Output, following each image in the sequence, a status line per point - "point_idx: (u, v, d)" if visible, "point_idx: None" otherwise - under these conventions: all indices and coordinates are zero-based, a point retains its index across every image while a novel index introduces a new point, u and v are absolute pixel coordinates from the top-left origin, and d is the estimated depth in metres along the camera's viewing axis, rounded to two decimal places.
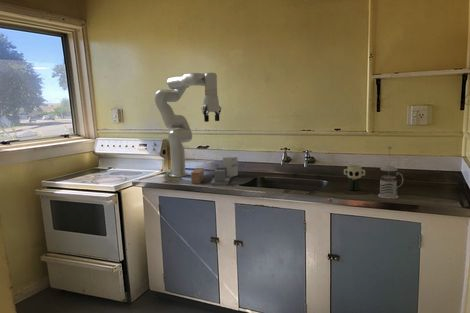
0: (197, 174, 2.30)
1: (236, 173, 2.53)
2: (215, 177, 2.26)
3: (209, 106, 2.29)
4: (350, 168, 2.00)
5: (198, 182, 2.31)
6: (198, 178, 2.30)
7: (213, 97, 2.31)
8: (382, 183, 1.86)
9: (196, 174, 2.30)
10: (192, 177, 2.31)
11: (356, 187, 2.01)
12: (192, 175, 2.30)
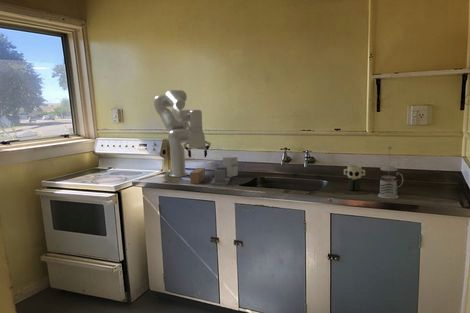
0: (196, 174, 2.30)
1: (236, 173, 2.53)
2: (215, 177, 2.26)
3: None
4: (350, 168, 2.00)
5: (197, 182, 2.31)
6: (197, 178, 2.30)
7: None
8: (382, 183, 1.86)
9: (195, 174, 2.30)
10: (191, 177, 2.31)
11: (356, 187, 2.01)
12: (191, 175, 2.31)
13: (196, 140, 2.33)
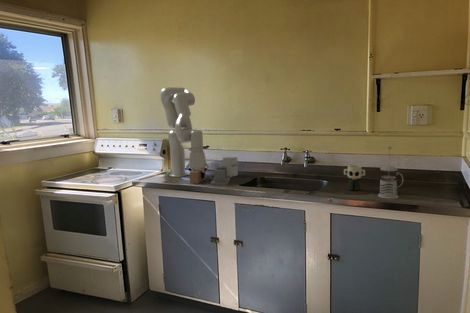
0: (195, 174, 2.30)
1: (236, 173, 2.53)
2: (215, 177, 2.26)
3: None
4: (350, 168, 2.00)
5: (196, 182, 2.31)
6: (196, 178, 2.30)
7: None
8: (382, 183, 1.86)
9: (194, 174, 2.30)
10: (190, 177, 2.31)
11: (356, 187, 2.01)
12: (190, 175, 2.31)
13: (197, 160, 2.35)
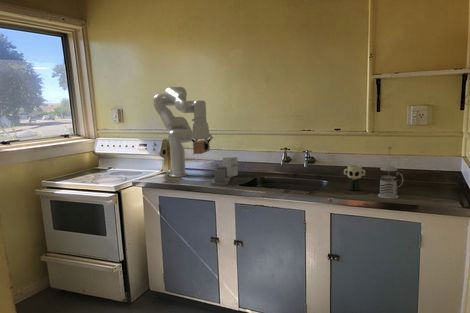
0: (199, 144, 2.27)
1: (236, 173, 2.53)
2: (215, 177, 2.26)
3: None
4: (350, 168, 2.00)
5: (200, 152, 2.27)
6: (200, 148, 2.27)
7: None
8: (382, 183, 1.86)
9: (198, 144, 2.27)
10: (194, 147, 2.28)
11: (356, 187, 2.01)
12: (194, 145, 2.27)
13: (200, 131, 2.32)
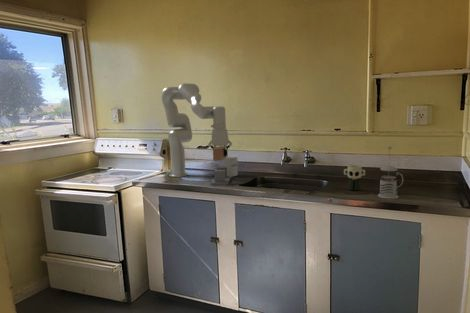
0: (219, 150, 2.24)
1: (236, 173, 2.53)
2: (215, 177, 2.26)
3: None
4: (350, 168, 2.00)
5: (220, 159, 2.25)
6: (220, 154, 2.24)
7: None
8: (382, 183, 1.86)
9: (218, 150, 2.24)
10: (214, 153, 2.25)
11: (356, 187, 2.01)
12: (214, 151, 2.25)
13: (219, 137, 2.29)
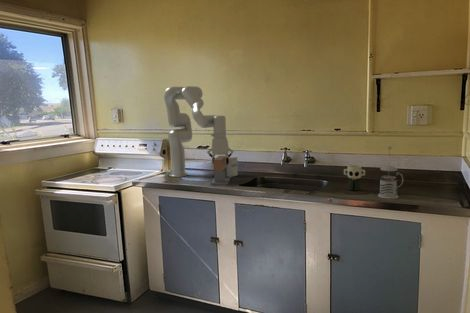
0: (219, 161, 2.25)
1: (236, 173, 2.53)
2: (215, 177, 2.26)
3: None
4: (350, 168, 2.00)
5: (220, 169, 2.26)
6: (220, 165, 2.25)
7: None
8: (382, 183, 1.86)
9: (218, 161, 2.25)
10: (214, 164, 2.26)
11: (356, 187, 2.01)
12: (214, 162, 2.26)
13: (219, 146, 2.30)
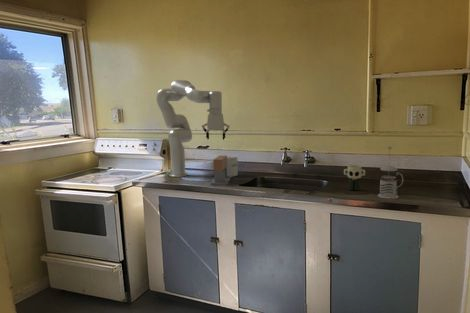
0: (219, 161, 2.25)
1: (236, 173, 2.53)
2: (215, 177, 2.26)
3: None
4: (350, 168, 2.00)
5: (220, 169, 2.26)
6: (220, 165, 2.25)
7: None
8: (382, 183, 1.86)
9: (218, 161, 2.25)
10: (214, 164, 2.26)
11: (356, 187, 2.01)
12: (214, 162, 2.26)
13: (215, 122, 2.31)
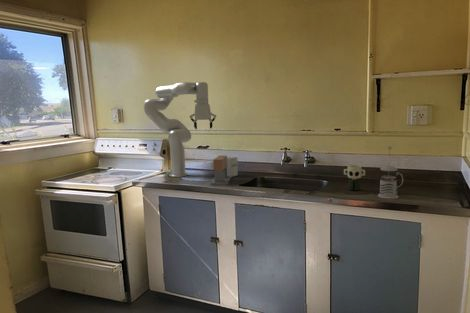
0: (219, 161, 2.25)
1: (236, 173, 2.53)
2: (215, 177, 2.26)
3: None
4: (350, 168, 2.00)
5: (220, 169, 2.26)
6: (220, 165, 2.25)
7: None
8: (382, 183, 1.86)
9: (218, 161, 2.25)
10: (214, 164, 2.26)
11: (356, 187, 2.01)
12: (214, 162, 2.26)
13: (202, 112, 2.40)
